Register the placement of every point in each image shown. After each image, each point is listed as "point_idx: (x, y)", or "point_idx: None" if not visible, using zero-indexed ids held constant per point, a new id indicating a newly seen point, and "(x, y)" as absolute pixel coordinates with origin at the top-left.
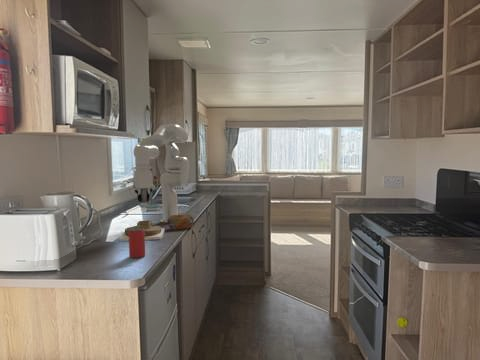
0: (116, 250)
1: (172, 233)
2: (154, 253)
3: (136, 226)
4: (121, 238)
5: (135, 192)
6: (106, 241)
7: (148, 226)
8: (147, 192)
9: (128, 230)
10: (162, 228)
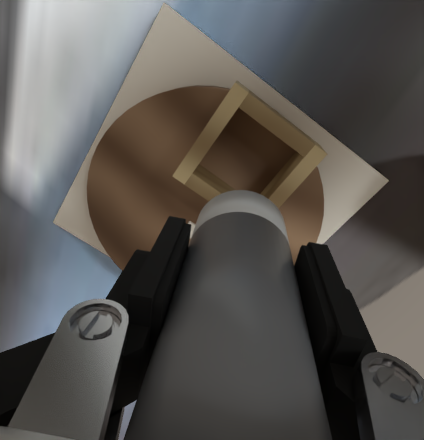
0: (30, 332)
1: (351, 268)
2: (127, 424)
3: (196, 113)
4: (66, 229)
5: (7, 357)
6: (4, 177)
7: None
8: (336, 429)
9: (106, 198)
10: (365, 182)
